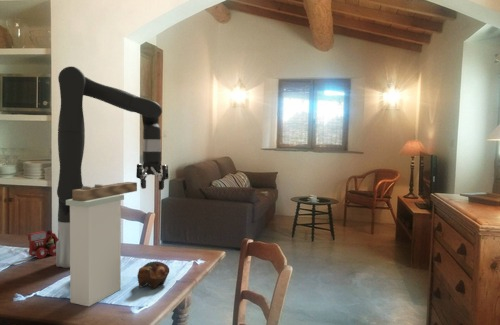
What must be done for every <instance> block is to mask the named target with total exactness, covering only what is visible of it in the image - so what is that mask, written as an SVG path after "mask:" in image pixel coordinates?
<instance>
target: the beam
mask: <svg viewBox="0 0 500 325" xmlns="http://www.w3.org/2000/svg"><path fill="white" fill-rule="evenodd" d="M137 191H138V182H137V181H136V182H135V181H134V182H132V181H124V182H117V183H112V184H106V185H105V184H104V185H103V184H102V183H100V184H98V183H97V184H94V186H91V185H83V186H82V189H76V190H72V200H75V201H87V200H93V199H98V198H103V197H108V196H114V195H124V194H128V193H129V194H130V193H134V192H137Z"/></svg>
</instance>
